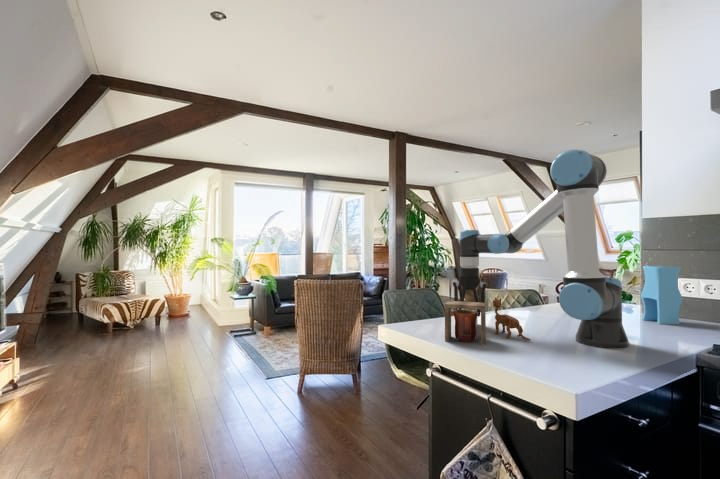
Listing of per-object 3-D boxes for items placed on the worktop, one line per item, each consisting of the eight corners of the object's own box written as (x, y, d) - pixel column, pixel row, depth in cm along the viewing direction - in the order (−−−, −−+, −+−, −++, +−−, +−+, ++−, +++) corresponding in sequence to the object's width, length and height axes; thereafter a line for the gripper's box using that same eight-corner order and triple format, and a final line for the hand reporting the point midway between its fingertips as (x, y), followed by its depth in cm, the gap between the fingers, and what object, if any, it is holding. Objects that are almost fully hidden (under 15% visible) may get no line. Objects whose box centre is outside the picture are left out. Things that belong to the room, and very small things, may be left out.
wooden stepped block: (476, 324, 158) (476, 277, 158) (472, 337, 134) (472, 283, 135) (465, 323, 159) (465, 277, 160) (460, 336, 136) (460, 282, 136)
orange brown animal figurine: (537, 342, 127) (537, 303, 128) (523, 344, 125) (523, 304, 125) (500, 331, 144) (499, 296, 144) (486, 333, 141) (486, 297, 142)
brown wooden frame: (485, 339, 132) (485, 302, 132) (484, 344, 124) (484, 306, 124) (447, 336, 136) (447, 300, 137) (444, 341, 129) (444, 303, 129)
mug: (452, 336, 135) (452, 309, 136) (476, 338, 134) (476, 310, 134) (454, 345, 124) (453, 315, 124) (480, 346, 122) (480, 316, 122)
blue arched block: (682, 326, 152) (681, 267, 153) (659, 326, 152) (658, 267, 153) (663, 322, 162) (662, 265, 163) (641, 321, 162) (640, 265, 163)
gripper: (492, 267, 150) (492, 323, 150) (448, 266, 157) (449, 320, 156) (491, 268, 143) (492, 327, 143) (446, 267, 150) (446, 324, 149)
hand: (469, 323), depth 150 cm, fingers closed on wooden stepped block, 4 cm apart
